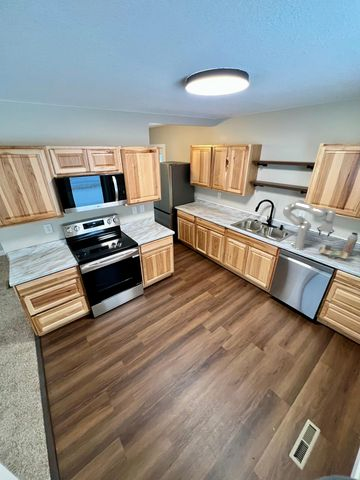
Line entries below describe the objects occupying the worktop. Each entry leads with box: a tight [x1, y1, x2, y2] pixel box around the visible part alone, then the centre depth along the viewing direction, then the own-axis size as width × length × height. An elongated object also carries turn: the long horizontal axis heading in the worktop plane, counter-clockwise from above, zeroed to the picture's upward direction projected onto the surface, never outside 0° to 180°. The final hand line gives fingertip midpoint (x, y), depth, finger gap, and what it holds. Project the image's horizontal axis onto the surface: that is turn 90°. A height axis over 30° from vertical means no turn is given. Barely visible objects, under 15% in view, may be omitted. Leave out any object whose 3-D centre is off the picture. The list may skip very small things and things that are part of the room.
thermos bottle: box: [342, 232, 359, 258], centre depth 218 cm, size 8×8×28 cm
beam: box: [318, 246, 348, 260], centre depth 219 cm, size 26×6×8 cm, turn 52°
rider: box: [324, 244, 332, 251], centre depth 220 cm, size 5×5×7 cm
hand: (323, 235), depth 218 cm, fingers open, 7 cm apart
